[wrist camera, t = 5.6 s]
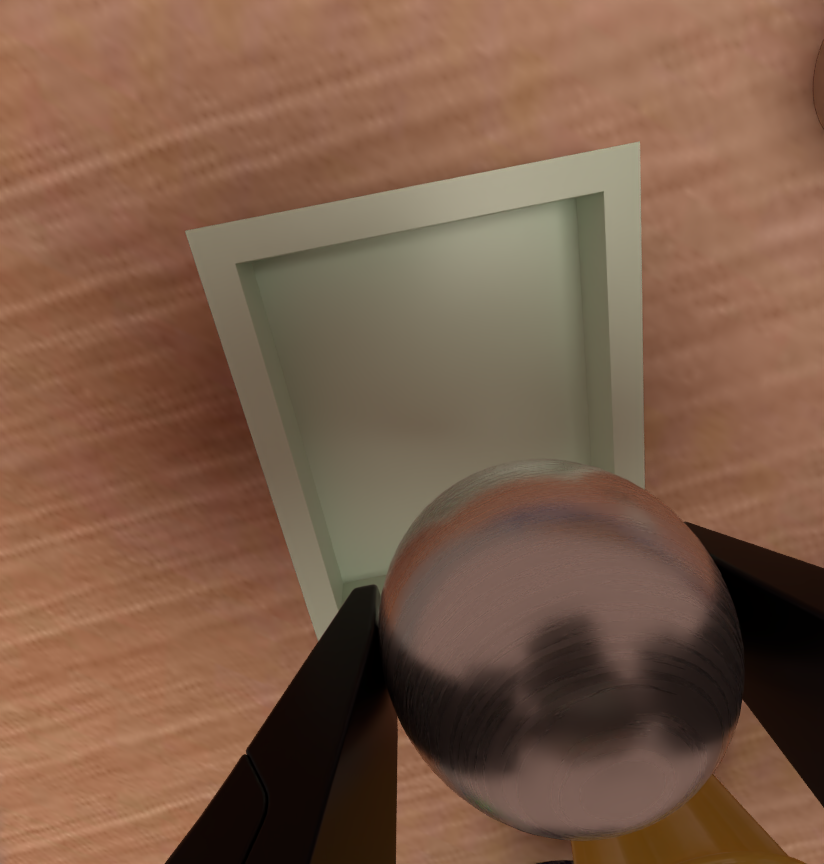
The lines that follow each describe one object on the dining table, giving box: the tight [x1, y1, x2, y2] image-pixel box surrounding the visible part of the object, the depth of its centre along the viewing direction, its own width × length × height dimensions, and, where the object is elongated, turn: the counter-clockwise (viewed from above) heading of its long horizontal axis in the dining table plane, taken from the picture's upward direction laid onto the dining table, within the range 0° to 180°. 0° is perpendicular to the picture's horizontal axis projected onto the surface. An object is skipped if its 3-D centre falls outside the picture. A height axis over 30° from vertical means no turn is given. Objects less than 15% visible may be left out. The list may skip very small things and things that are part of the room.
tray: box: [185, 142, 645, 641], centre depth 16 cm, size 14×12×2 cm
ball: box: [378, 459, 745, 841], centre depth 7 cm, size 5×5×5 cm
